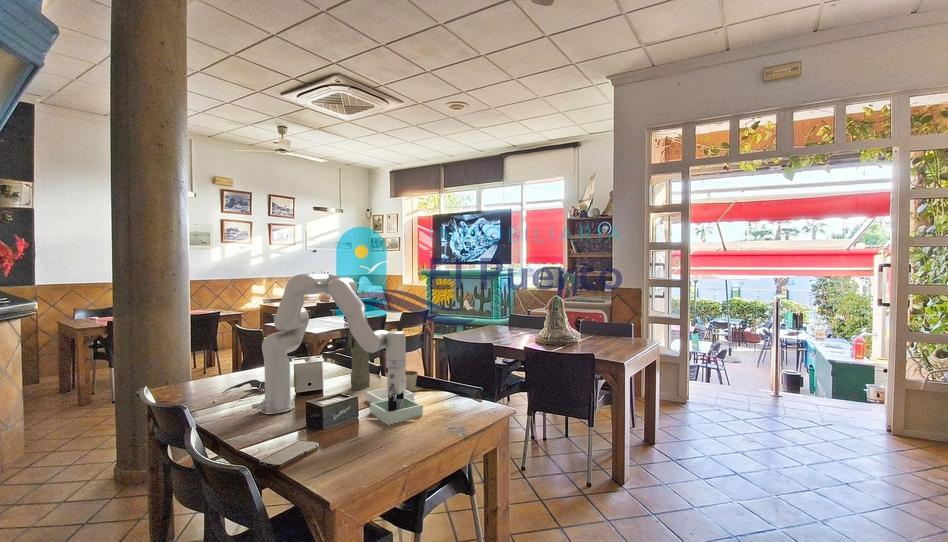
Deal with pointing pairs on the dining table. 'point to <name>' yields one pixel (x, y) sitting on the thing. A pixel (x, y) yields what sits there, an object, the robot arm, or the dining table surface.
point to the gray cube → (399, 404)
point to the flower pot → (411, 380)
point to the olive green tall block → (359, 364)
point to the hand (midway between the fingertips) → (396, 406)
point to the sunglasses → (253, 384)
